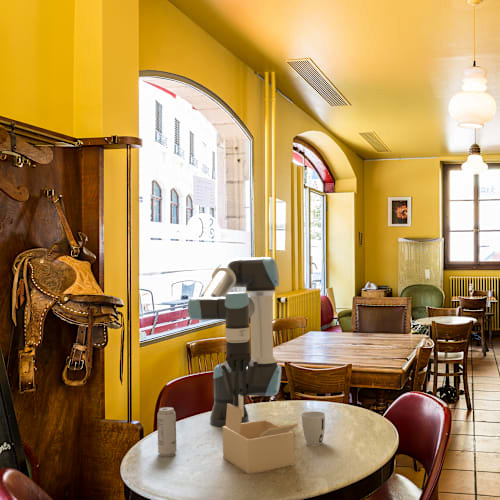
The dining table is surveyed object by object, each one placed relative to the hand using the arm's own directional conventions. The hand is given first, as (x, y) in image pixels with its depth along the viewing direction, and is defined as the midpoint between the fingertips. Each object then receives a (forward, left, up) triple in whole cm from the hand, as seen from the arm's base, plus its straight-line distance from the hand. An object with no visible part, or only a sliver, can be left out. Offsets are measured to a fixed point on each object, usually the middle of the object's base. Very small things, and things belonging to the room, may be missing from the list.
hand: (239, 415), depth 189 cm
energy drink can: (-20, -17, -15) cm, 30 cm away
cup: (-4, +30, -15) cm, 34 cm away
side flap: (0, -2, 0) cm, 2 cm away
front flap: (+14, +6, -2) cm, 15 cm away
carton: (+2, +5, -15) cm, 15 cm away
